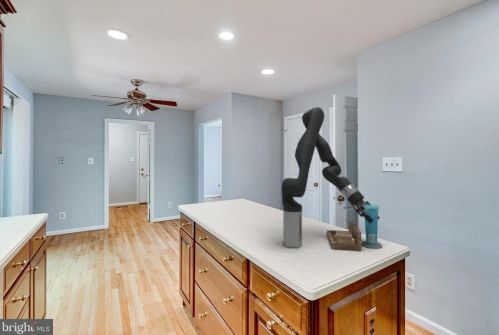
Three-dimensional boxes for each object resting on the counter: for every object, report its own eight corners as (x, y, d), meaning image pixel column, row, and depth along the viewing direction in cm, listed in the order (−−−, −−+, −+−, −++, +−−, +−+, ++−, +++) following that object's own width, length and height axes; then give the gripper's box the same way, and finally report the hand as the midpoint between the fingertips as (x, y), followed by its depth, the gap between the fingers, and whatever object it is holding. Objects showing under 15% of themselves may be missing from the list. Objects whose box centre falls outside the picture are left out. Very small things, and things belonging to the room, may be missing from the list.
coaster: (384, 249, 118) (384, 247, 118) (364, 248, 120) (364, 246, 120) (378, 243, 127) (378, 241, 127) (359, 241, 129) (359, 240, 129)
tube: (375, 241, 126) (375, 204, 126) (381, 245, 122) (381, 205, 121) (361, 242, 126) (361, 204, 125) (366, 245, 121) (366, 206, 120)
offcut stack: (355, 249, 119) (355, 236, 118) (336, 248, 120) (336, 235, 120) (351, 243, 127) (351, 231, 127) (333, 242, 129) (333, 230, 129)
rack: (361, 251, 116) (361, 232, 116) (331, 249, 119) (332, 230, 118) (351, 236, 137) (351, 220, 137) (326, 235, 140) (327, 219, 139)
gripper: (351, 191, 123) (375, 218, 115) (363, 188, 133) (386, 213, 125) (340, 200, 127) (363, 227, 119) (353, 197, 137) (374, 222, 129)
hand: (375, 220), depth 122 cm, fingers open, 8 cm apart
